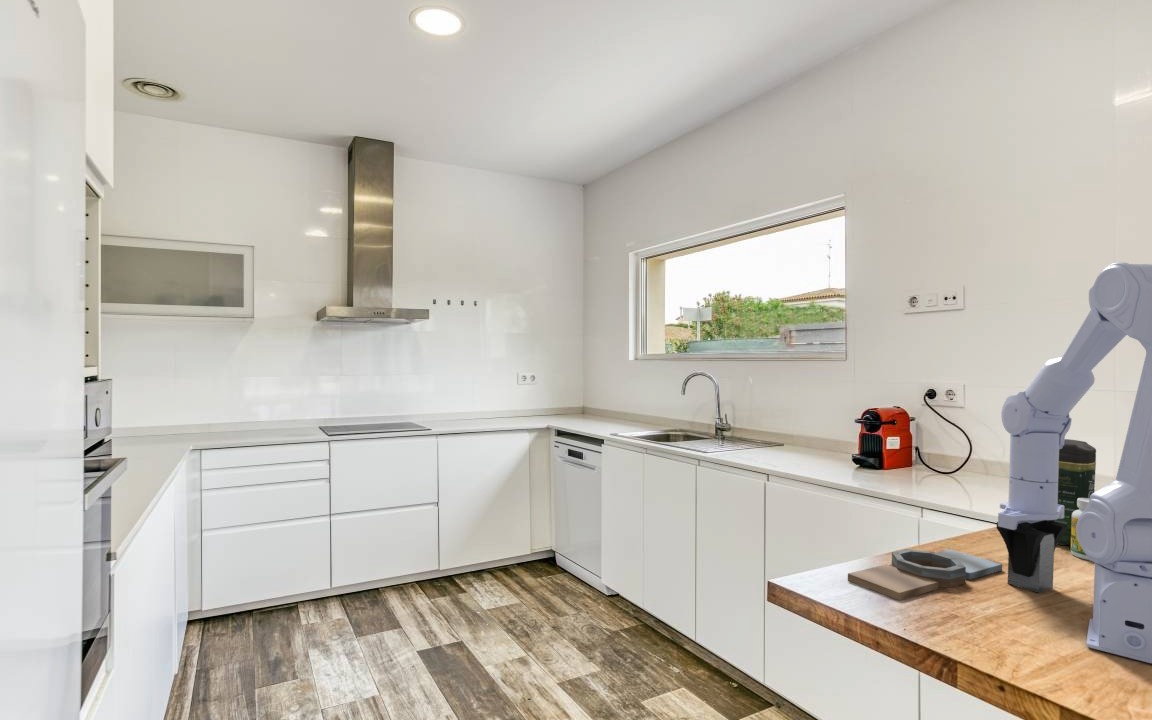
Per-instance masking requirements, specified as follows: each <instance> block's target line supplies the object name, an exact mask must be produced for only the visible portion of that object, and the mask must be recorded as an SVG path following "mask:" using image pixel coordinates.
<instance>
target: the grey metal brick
mask: <svg viewBox="0 0 1152 720" xmlns="http://www.w3.org/2000/svg"><path fill="white" fill-rule="evenodd" d="M1033 529H1034V528H1033ZM1034 530H1038V529H1034ZM1038 531H1042V530H1038ZM1042 532H1046V535H1045V536H1044V538H1043V539H1042V541H1041V543H1040V545H1039V548H1038V551H1037V554H1036V560H1035V566H1034V570H1033V573H1032V576H1031V577H1026V576H1023V575H1020V574H1016V573H1014V572H1013V569H1012V565H1011V561H1010V557H1009V554H1008V553H1007V554H1008V557H1007V560H1008V561H1007V562H1008V563H1007V584H1008V585H1010V584H1012V586H1014V585H1015V587H1017V586H1019V587H1018V588H1020V587H1022V588H1021V589H1023V588H1024V589H1023V590H1027V589H1028V590H1027V591H1030V590H1031V591H1030V592H1033V591H1035V592H1034V593H1036V592H1038V593H1037V594H1041V593H1044V592H1047V591H1049V589H1050V590H1052V589H1053V588H1054V562H1055V551H1054V535H1055V533H1051V532H1047V531H1042ZM1040 592H1041V593H1040Z"/></svg>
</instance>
